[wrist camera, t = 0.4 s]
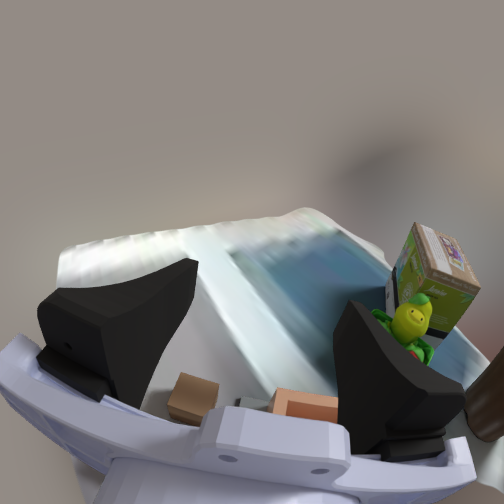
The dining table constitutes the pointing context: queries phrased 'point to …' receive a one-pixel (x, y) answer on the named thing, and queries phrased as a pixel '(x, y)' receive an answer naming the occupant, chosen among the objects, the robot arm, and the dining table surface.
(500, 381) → the plant pot
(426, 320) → the fruit basket
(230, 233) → the dining table surface
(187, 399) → the walnut block
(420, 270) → the tea box
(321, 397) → the terracotta box
